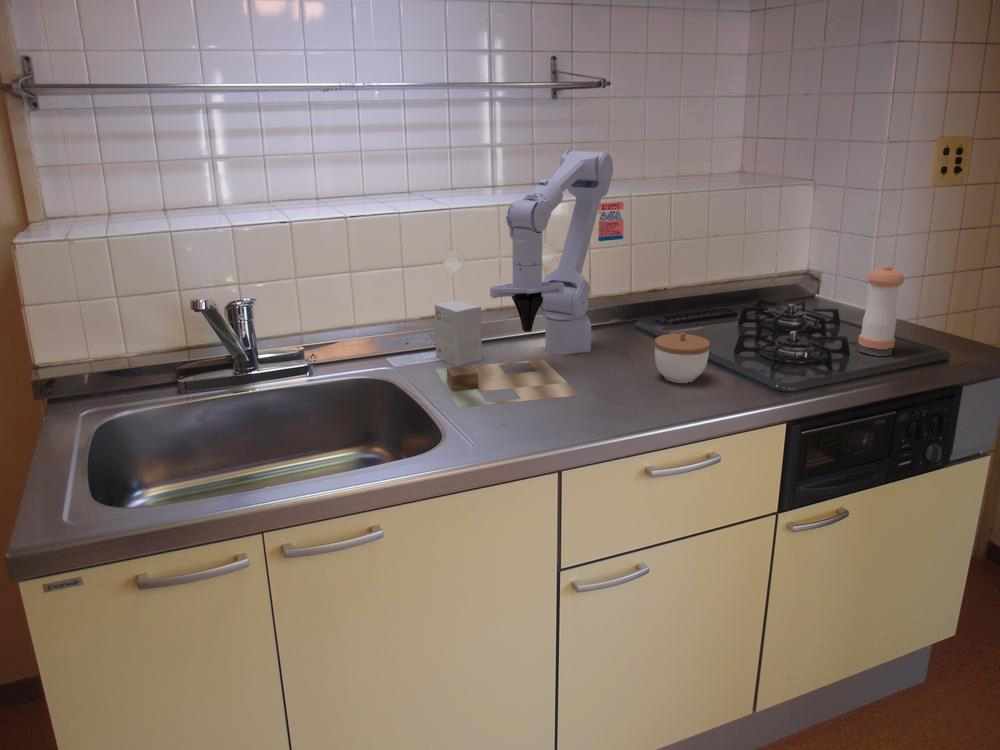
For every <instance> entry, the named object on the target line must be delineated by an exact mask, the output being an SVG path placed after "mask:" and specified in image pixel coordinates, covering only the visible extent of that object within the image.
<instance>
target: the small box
mask: <svg viewBox="0 0 1000 750" xmlns="http://www.w3.org/2000/svg"><path fill="white" fill-rule="evenodd" d="M481 307H482V306H479V305H475V304H472V303H469V302H465V301H462V300H459V299H456V300H452V301H445V302H440V303H435V304H434V324H435V326H434V329H435V357H436V358H437V359H439V360H442V361H444V362H446V363H449V364H451V365H454V366H455V367H459V366H467V365H469V364H473V363H477V362H481V361H483V356H482V355H483V354H482V352H483V351H482V308H481Z"/></svg>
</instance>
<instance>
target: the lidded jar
mask: <svg viewBox="0 0 1000 750" xmlns="http://www.w3.org/2000/svg"><path fill="white" fill-rule="evenodd" d="M710 348H711V342H710V340H708V339H707V338H705V337H702V336H699V335H693V334H689V333H686V332H680V333H668V334H661V335H659V336H657V337H656V338H655V340H654V360H655V361H654V362H655V365H656V368H657V369H658V372H659V373H660V374H661V375H662V376H663V378H664V379H665V380H666V381H668V382H670V381H671V383H675V382H676V383H677V384H688V382H690V383H693V382H695V381H696V379H697V378H698V377H699V376H700V375H702V373H703V372H704V371H705V369H706V367H707V364H708V360H709V353H710ZM694 380H695V381H694ZM692 381H693V382H692Z"/></svg>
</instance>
